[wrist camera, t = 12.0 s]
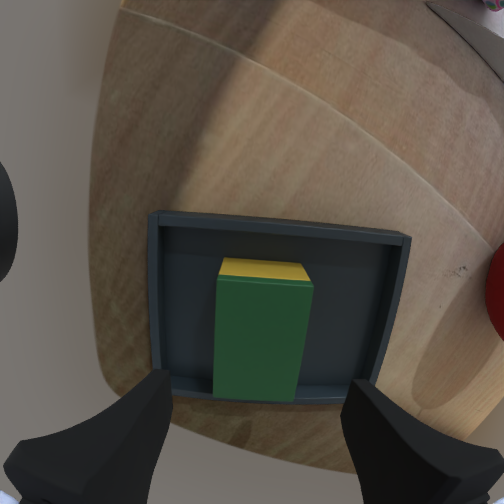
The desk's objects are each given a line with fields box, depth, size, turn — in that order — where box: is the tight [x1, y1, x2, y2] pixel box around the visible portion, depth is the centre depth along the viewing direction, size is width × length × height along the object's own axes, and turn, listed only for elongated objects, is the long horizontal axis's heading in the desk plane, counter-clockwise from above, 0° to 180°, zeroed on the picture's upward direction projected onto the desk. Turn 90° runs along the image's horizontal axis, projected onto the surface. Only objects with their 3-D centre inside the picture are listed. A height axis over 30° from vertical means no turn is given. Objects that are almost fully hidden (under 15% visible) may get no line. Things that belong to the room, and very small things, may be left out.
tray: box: [148, 210, 412, 404], centre depth 18 cm, size 15×12×2 cm
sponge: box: [213, 257, 314, 402], centre depth 17 cm, size 4×7×4 cm, turn 175°
